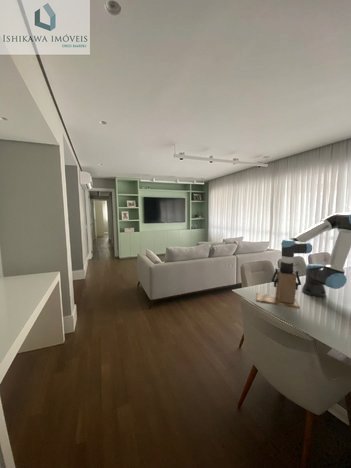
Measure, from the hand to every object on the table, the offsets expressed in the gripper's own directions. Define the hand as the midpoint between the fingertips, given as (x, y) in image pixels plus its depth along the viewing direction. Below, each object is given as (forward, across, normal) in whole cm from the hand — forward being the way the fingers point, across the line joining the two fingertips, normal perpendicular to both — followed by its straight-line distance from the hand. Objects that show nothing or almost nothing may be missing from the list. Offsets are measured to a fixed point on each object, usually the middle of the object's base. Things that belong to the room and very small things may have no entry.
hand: (285, 292), depth 135 cm
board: (+7, +5, 0) cm, 8 cm away
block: (+6, 0, 0) cm, 6 cm away
